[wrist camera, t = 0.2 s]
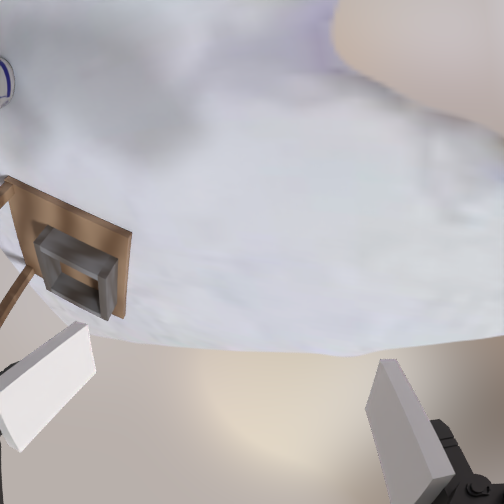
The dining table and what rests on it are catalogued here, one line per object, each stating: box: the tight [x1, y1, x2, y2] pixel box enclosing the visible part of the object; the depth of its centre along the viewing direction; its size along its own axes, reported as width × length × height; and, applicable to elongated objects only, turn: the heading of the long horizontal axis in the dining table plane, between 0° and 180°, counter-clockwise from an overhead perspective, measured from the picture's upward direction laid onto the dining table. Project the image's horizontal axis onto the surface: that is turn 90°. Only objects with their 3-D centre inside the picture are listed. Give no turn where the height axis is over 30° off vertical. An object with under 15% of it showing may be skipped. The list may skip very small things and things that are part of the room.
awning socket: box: [0, 176, 132, 328], centre depth 27 cm, size 18×18×22 cm
